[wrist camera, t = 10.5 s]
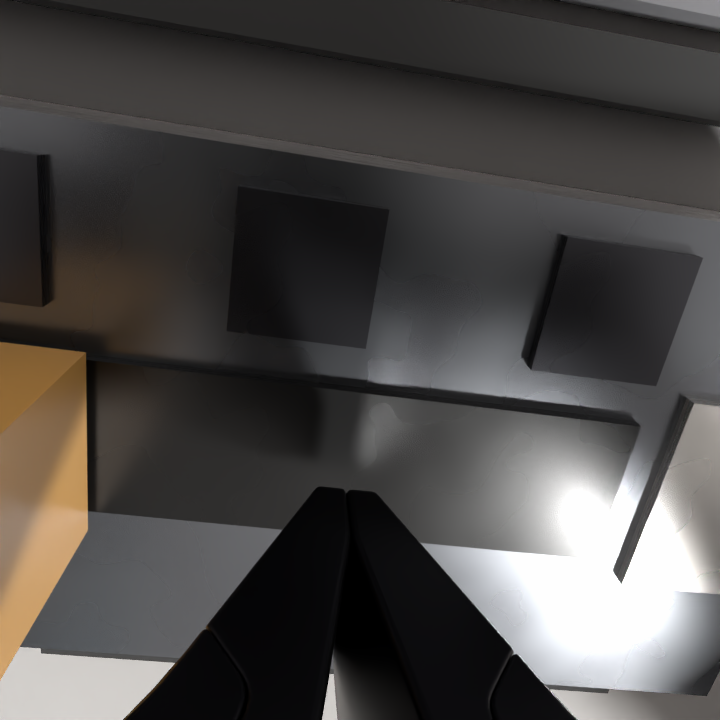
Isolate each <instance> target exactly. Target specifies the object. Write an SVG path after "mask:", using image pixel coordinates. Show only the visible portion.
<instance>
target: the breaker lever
mask: <svg viewBox="0 0 720 720" xmlns="http://www.w3.org/2000/svg"><path fill="white" fill-rule="evenodd" d="M87 531H88V492H87V400H86V352H79V351H71V350H62V349H54V348H46V347H38V346H29V345H21V344H13V343H5V342H0V680H1V678H2V676H3V675H4V673H5V671H6V669H7V668H8V666H9V664H10V663H11V661H12V659H13V657H14V656H15V654H16V652H17V651H18V649H19V647H20V645H21V644H22V642H23V640H24V639H25V637H26V635H27V634H28V632H29V630H30V628H31V627H32V625H33V623H34V622H35V620H36V618H37V616H38V615H39V613H40V611H41V610H42V608H43V606H44V604H45V603H46V601H47V599H48V598H49V596H50V594H51V592H52V591H53V589H54V587H55V586H56V584H57V582H58V580H59V579H60V577H61V575H62V574H63V572H64V570H65V568H66V567H67V565H68V563H69V562H70V560H71V558H72V557H73V555H74V553H75V551H76V550H77V548H78V546H79V545H80V543H81V541H82V539H83V538H84V536H85V534H86V533H87Z"/></svg>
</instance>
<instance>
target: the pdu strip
mask: <svg viewBox="0 0 720 720" xmlns="http://www.w3.org/2000/svg"><path fill="white" fill-rule="evenodd" d="M0 342H5V343H13V344H21V345H29V346H38V347H46V348H54V349H62V350H71V351H79V352H86V400H87V492H88V531H87V533H86V534H85V536H84V538H83V539H82V541H81V543H80V545H79V546H78V548H77V550H76V551H75V553H74V555H73V557H72V558H71V560H70V562H69V563H68V565H67V567H66V568H65V570H64V572H63V574H62V575H61V577H60V579H59V580H58V582H57V584H56V586H55V587H54V589H53V591H52V592H51V594H50V596H49V598H48V599H47V601H46V603H45V604H44V606H43V608H42V610H41V611H40V613H39V615H38V616H37V618H36V620H35V622H34V623H33V625H32V627H31V628H30V630H29V632H28V634H27V635H26V637H25V639H24V640H23V642H22V644H21V645H20V647H31V648H45V649H59V650H73V651H87V652H100V653H114V654H128V655H142V656H156V657H170V658H180V657H181V656H182V655H183V654H184V652H185V651H186V650H187V649H188V647H189V646H190V645H191V644H192V642H193V641H194V640H195V639H196V637H197V636H198V635H199V634H200V632H201V631H202V630H204V629H205V628H206V625H207V624H208V623H209V622H210V620H211V619H212V618H213V617H214V615H215V614H216V613H217V611H218V610H219V609H220V608H221V606H222V605H223V604H224V603H225V601H226V600H227V599H228V598H229V596H230V595H231V594H232V593H233V591H234V590H235V589H236V588H237V586H238V585H239V584H240V583H241V581H242V580H243V579H244V578H245V576H246V575H247V574H248V573H249V571H250V570H251V569H252V568H253V566H254V565H255V564H256V563H257V561H258V560H259V559H260V558H261V556H262V555H263V554H264V552H265V551H266V550H267V549H268V547H269V546H270V545H271V544H272V542H273V541H274V540H275V539H276V537H277V536H278V535H279V534H280V532H281V531H282V530H283V529H284V527H285V526H286V525H287V524H288V522H289V521H290V520H291V519H292V517H293V516H294V515H295V514H296V512H297V511H298V510H299V509H300V507H301V506H302V505H303V504H304V502H305V501H306V500H307V498H308V497H309V496H310V495H311V493H312V492H313V491H314V490H315V489H316V488H317V487H319V486H323V487H333V488H342V489H344V490H345V491H346V493H347V492H348V491H349V490H362V491H372V492H375V493H377V494H378V495H379V496H380V497H381V499H382V500H383V501H384V502H385V503H386V504H387V505H388V507H389V508H390V509H391V510H392V511H393V512H394V513H395V515H396V516H397V517H398V518H399V519H400V520H401V521H402V523H403V524H404V525H405V526H406V527H407V528H408V529H409V531H410V532H411V533H412V534H413V535H414V536H415V537H416V539H417V540H418V541H419V542H420V543H421V544H422V545H423V547H424V548H425V549H426V550H427V551H428V552H429V553H430V555H431V556H432V557H433V558H434V559H435V560H436V561H437V563H438V564H439V565H440V566H441V567H442V568H443V569H444V571H445V572H446V573H447V574H448V575H449V576H450V577H451V579H452V580H453V581H454V582H455V583H456V584H457V585H458V587H459V588H460V589H461V590H462V591H463V592H464V593H465V595H466V596H467V597H468V598H469V599H470V600H471V601H472V603H473V604H474V605H475V606H476V607H477V608H478V609H479V611H480V612H481V613H482V614H483V615H484V616H485V617H486V619H487V620H488V621H489V622H490V623H491V624H492V625H493V627H494V628H495V629H496V630H497V631H498V632H499V633H500V635H501V636H502V637H503V638H504V639H505V640H506V641H507V643H508V644H509V645H510V646H511V647H512V648H513V650H514V654H518V655H519V656H520V657H521V658H522V659H523V661H524V662H525V663H526V664H527V665H528V666H529V667H530V669H531V670H532V671H533V672H534V673H535V674H536V675H537V677H538V678H539V679H540V680H541V681H542V682H543V683H544V684H548V685H562V686H576V687H590V688H604V689H618V690H632V691H646V692H660V693H674V694H688V695H702V696H707V694H708V692H709V690H710V688H711V686H712V684H713V682H714V680H715V679H716V677H717V675H718V673H719V671H720V212H719V211H713V210H707V209H701V208H695V207H688V206H682V205H676V204H670V203H664V202H658V201H652V200H645V199H639V198H633V197H627V196H621V195H615V194H609V193H602V192H596V191H590V190H584V189H578V188H572V187H566V186H559V185H553V184H547V183H541V182H535V181H529V180H522V179H516V178H510V177H504V176H498V175H492V174H486V173H479V172H473V171H467V170H461V169H455V168H449V167H443V166H436V165H430V164H424V163H418V162H412V161H406V160H400V159H393V158H387V157H381V156H375V155H369V154H363V153H357V152H350V151H344V150H338V149H332V148H326V147H320V146H314V145H307V144H301V143H295V142H289V141H283V140H277V139H270V138H264V137H258V136H252V135H246V134H240V133H234V132H227V131H221V130H215V129H209V128H203V127H197V126H191V125H184V124H178V123H172V122H166V121H160V120H154V119H148V118H141V117H135V116H129V115H123V114H117V113H111V112H105V111H98V110H92V109H86V108H80V107H74V106H68V105H62V104H55V103H49V102H43V101H37V100H31V99H25V98H19V97H12V96H6V95H0ZM514 654H513V655H514ZM330 669H334V665H333V656H332V662H331V668H330Z"/></svg>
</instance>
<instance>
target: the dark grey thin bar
mask: <svg viewBox="0 0 720 720" xmlns="http://www.w3.org/2000/svg"><path fill="white" fill-rule="evenodd" d="M12 1H18V2H23V3H29V4H35V5H40V6H46V7H51V8H57V9H63V10H68V11H74V12H79V13H85V14H91V15H96V16H102V17H107V18H113V19H119V20H124V21H130V22H135V23H141V24H147V25H152V26H158V27H163V28H169V29H175V30H180V31H186V32H191V33H197V34H203V35H208V36H214V37H219V38H225V39H231V40H236V41H242V42H247V43H253V44H259V45H264V46H270V47H275V48H281V49H287V50H292V51H298V52H303V53H309V54H315V55H320V56H326V57H331V58H337V59H343V60H348V61H354V62H359V63H365V64H371V65H376V66H382V67H387V68H393V69H399V70H404V71H410V72H415V73H421V74H427V75H432V76H438V77H443V78H449V79H454V80H460V81H466V82H471V83H477V84H482V85H488V86H494V87H499V88H505V89H510V90H516V91H522V92H527V93H533V94H538V95H544V96H550V97H555V98H561V99H566V100H572V101H578V102H583V103H589V104H594V105H600V106H606V107H611V108H617V109H622V110H628V111H634V112H639V113H645V114H650V115H656V116H662V117H667V118H673V119H678V120H684V121H690V122H695V123H701V124H706V125H712V126H718V127H720V53H717V52H712V51H706V50H701V49H696V48H691V47H686V46H680V45H675V44H670V43H665V42H660V41H654V40H649V39H644V38H639V37H634V36H628V35H623V34H618V33H613V32H608V31H603V30H597V29H592V28H587V27H582V26H577V25H571V24H566V23H561V22H556V21H551V20H545V19H540V18H535V17H530V16H525V15H519V14H514V13H509V12H504V11H499V10H493V9H488V8H483V7H478V6H473V5H467V4H462V3H457V2H452V1H447V0H12ZM556 1H561V2H566V3H571V4H576V5H581V6H586V7H591V8H597V9H602V10H607V11H612V12H617V13H622V14H627V15H632V16H637V17H642V18H647V19H653V20H658V21H663V22H668V23H673V24H678V25H683V26H688V27H693V28H698V29H703V30H709V31H714V32H719V33H720V0H556Z"/></svg>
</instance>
